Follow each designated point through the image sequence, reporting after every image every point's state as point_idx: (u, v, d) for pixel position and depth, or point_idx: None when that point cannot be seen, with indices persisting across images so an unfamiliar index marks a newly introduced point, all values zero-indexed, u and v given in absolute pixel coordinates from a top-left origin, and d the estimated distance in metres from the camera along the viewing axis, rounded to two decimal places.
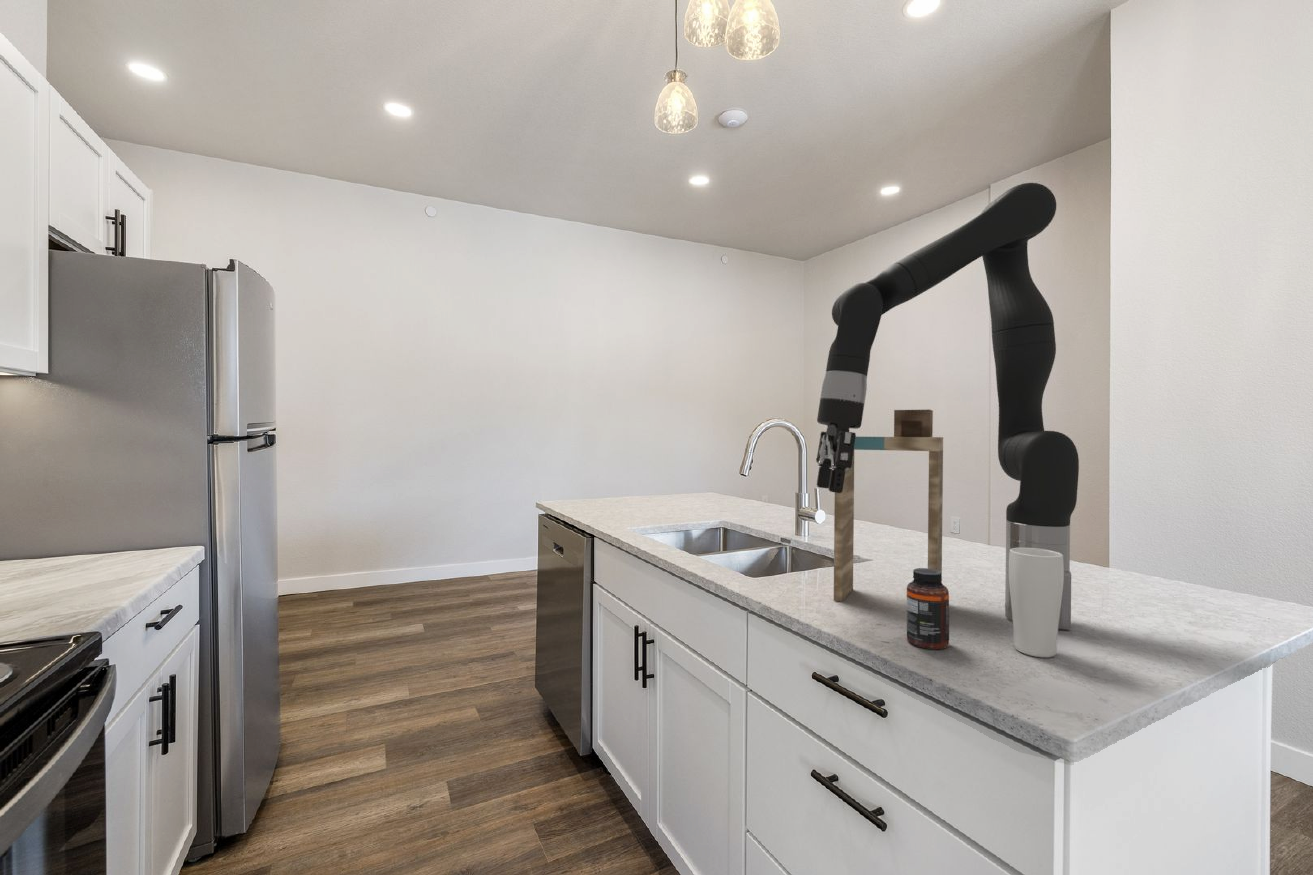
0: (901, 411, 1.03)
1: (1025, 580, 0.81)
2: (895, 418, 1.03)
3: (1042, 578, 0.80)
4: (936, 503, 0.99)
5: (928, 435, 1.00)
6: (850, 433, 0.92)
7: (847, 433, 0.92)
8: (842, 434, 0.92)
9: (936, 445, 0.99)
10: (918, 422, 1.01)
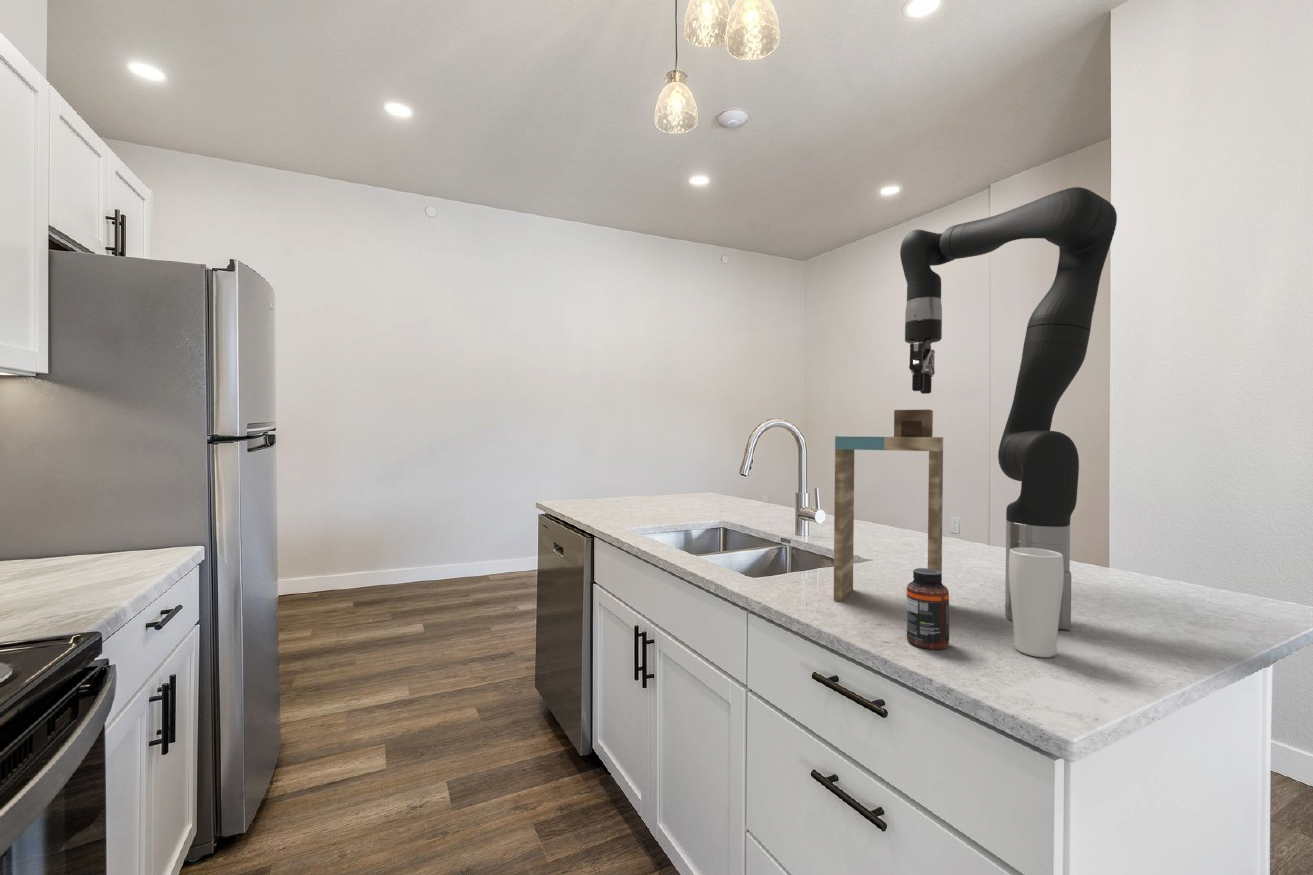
0: (901, 411, 1.03)
1: (1025, 580, 0.81)
2: (895, 418, 1.03)
3: (1042, 578, 0.80)
4: (936, 503, 0.99)
5: (928, 435, 1.00)
6: None
7: None
8: None
9: (936, 445, 0.99)
10: (918, 422, 1.01)
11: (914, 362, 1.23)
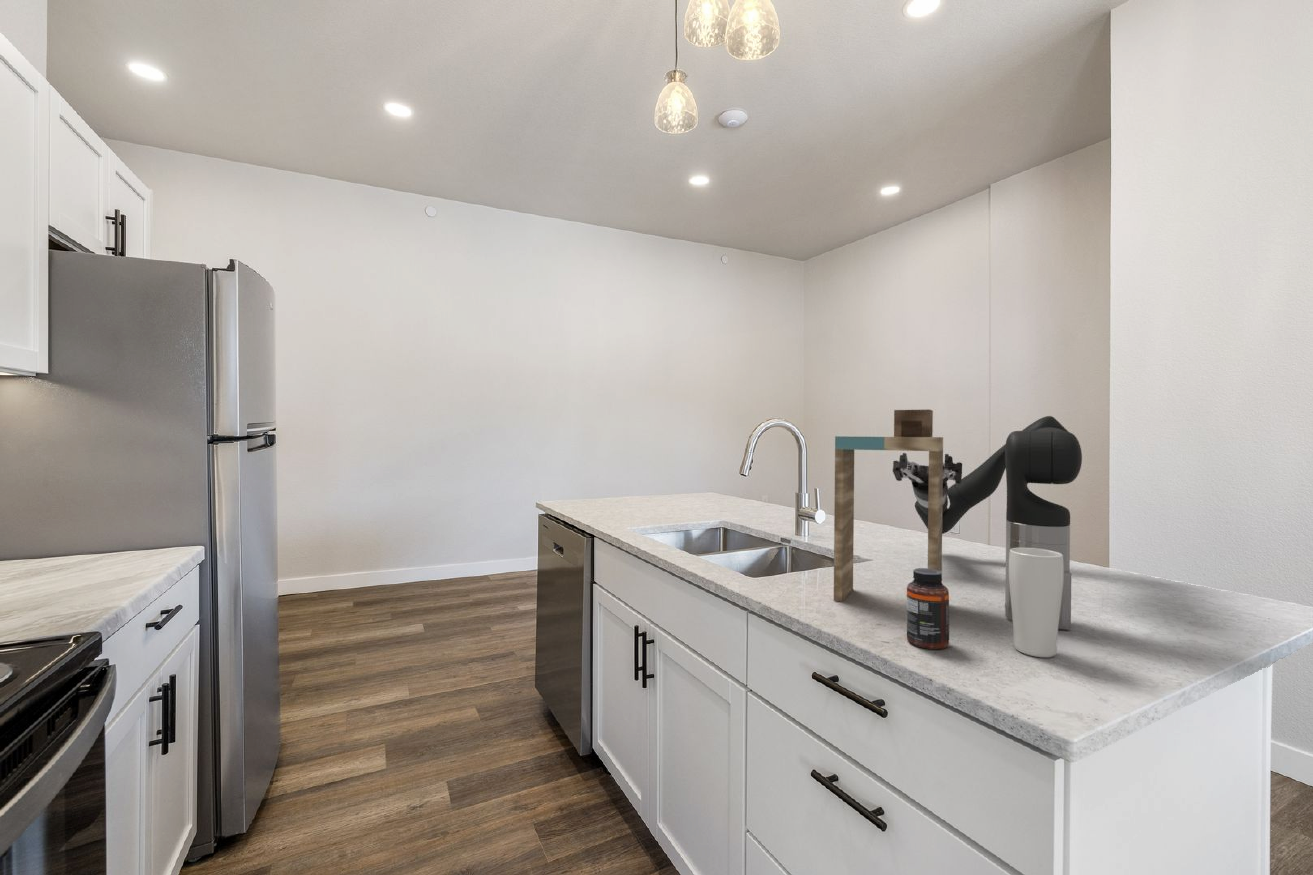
0: (901, 411, 1.03)
1: (1025, 580, 0.81)
2: (895, 418, 1.03)
3: (1042, 578, 0.80)
4: (936, 503, 0.99)
5: (928, 435, 1.00)
6: None
7: None
8: None
9: (936, 445, 0.99)
10: (918, 422, 1.01)
11: None
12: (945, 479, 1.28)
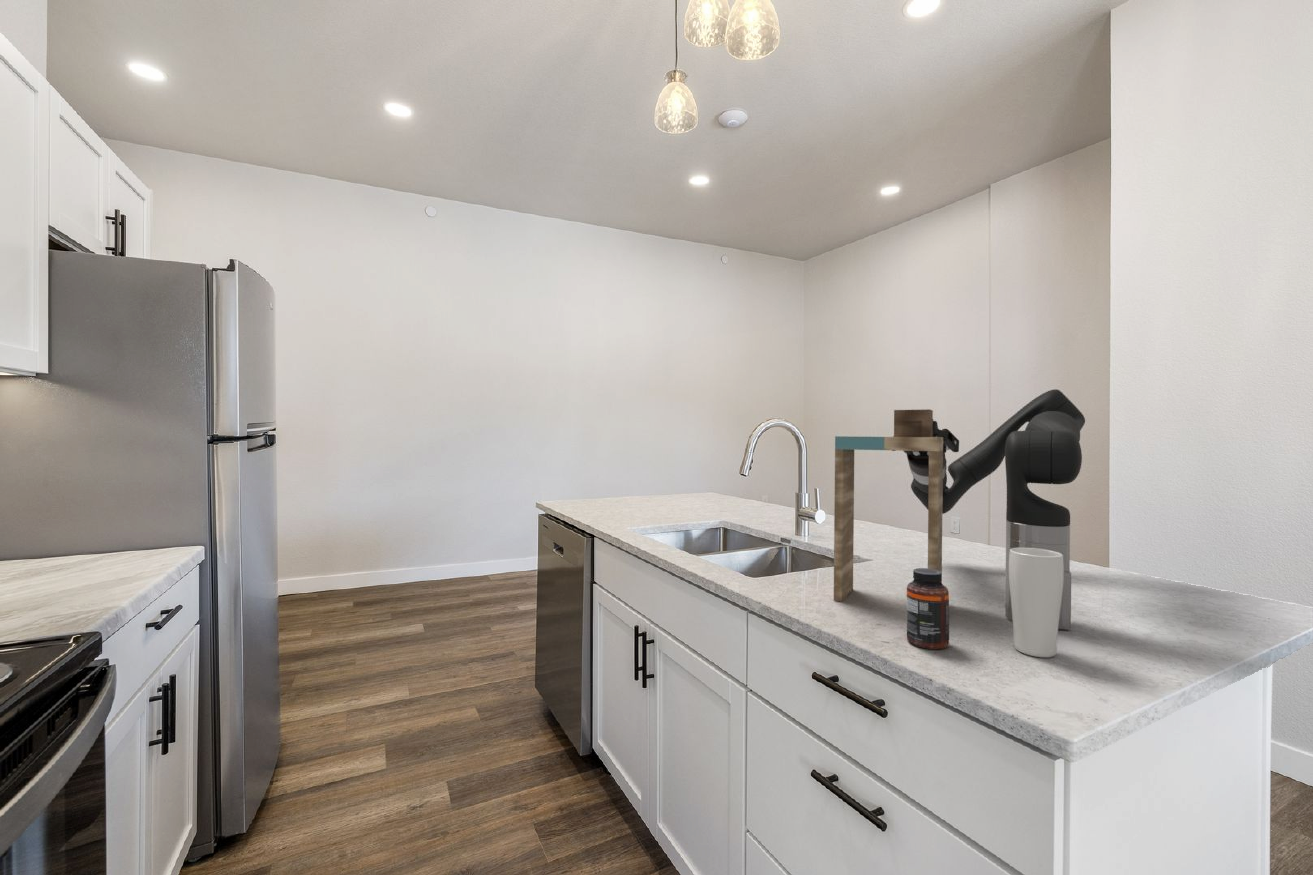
0: (901, 411, 1.03)
1: (1025, 580, 0.81)
2: (895, 418, 1.03)
3: (1042, 578, 0.80)
4: (936, 503, 0.99)
5: (928, 435, 1.00)
6: (958, 447, 1.16)
7: (958, 445, 1.16)
8: (958, 441, 1.16)
9: (936, 445, 0.99)
10: (918, 422, 1.01)
11: None
12: None
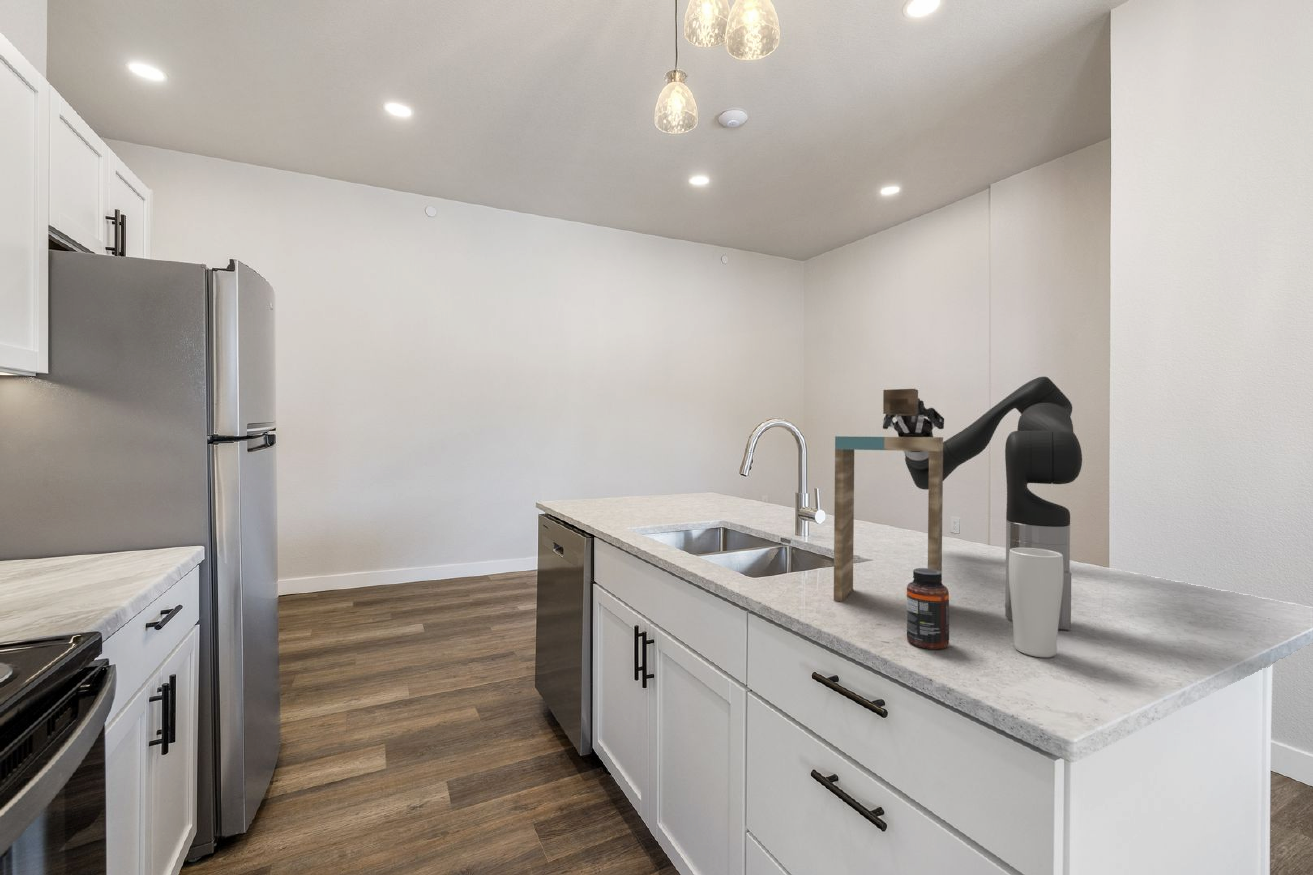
0: (889, 390, 1.16)
1: (1025, 580, 0.81)
2: (884, 397, 1.16)
3: (1042, 578, 0.80)
4: (936, 503, 0.99)
5: (913, 411, 1.13)
6: (943, 425, 1.28)
7: (943, 423, 1.28)
8: (943, 419, 1.28)
9: (936, 445, 0.99)
10: (904, 400, 1.14)
11: None
12: (928, 427, 1.30)
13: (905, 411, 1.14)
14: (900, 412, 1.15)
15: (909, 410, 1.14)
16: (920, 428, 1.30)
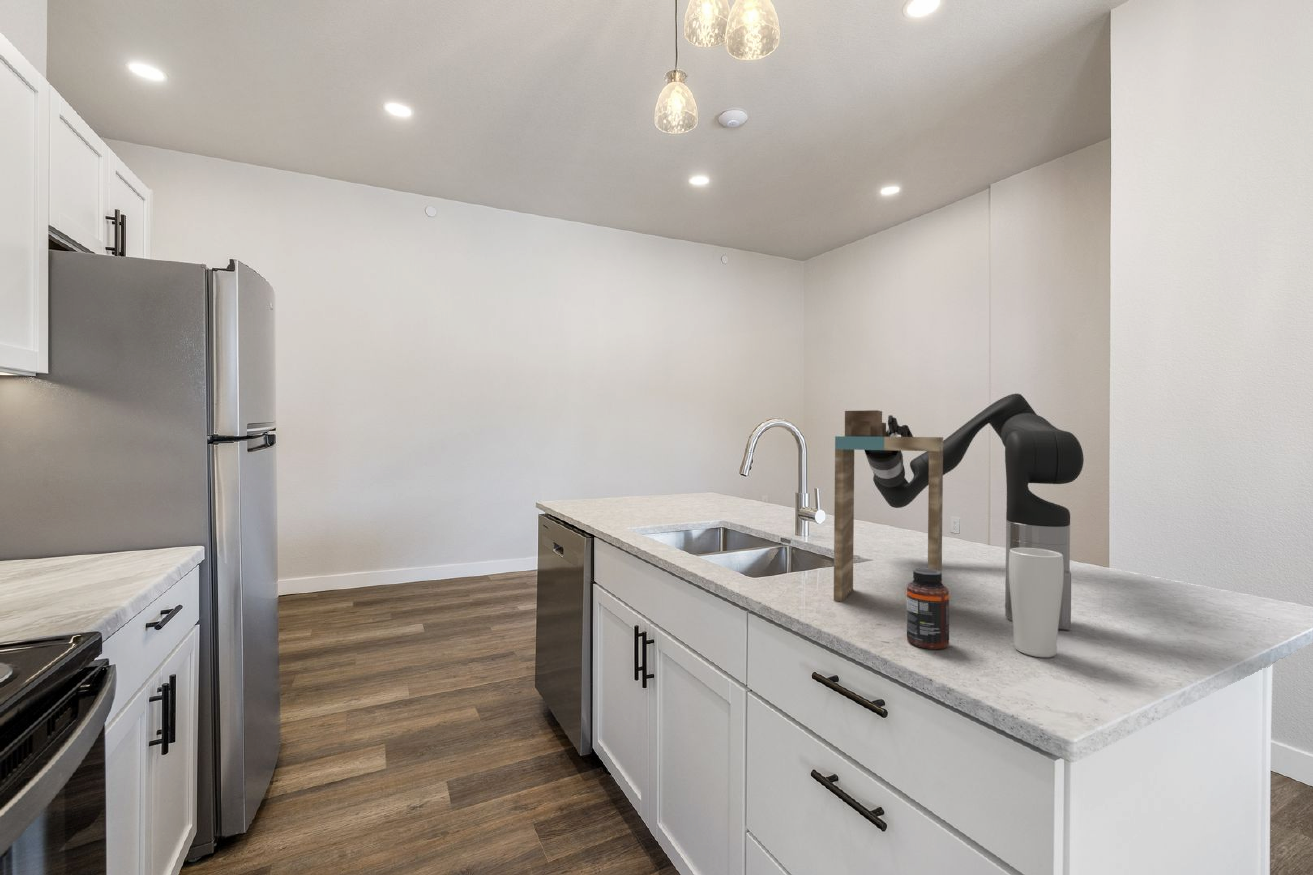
0: (851, 412, 1.08)
1: (1025, 580, 0.81)
2: (846, 418, 1.08)
3: (1042, 578, 0.80)
4: (936, 503, 0.99)
5: (876, 435, 1.05)
6: None
7: None
8: None
9: (936, 445, 0.99)
10: (866, 422, 1.06)
11: None
12: None
13: (867, 434, 1.06)
14: (862, 435, 1.07)
15: (872, 433, 1.06)
16: None
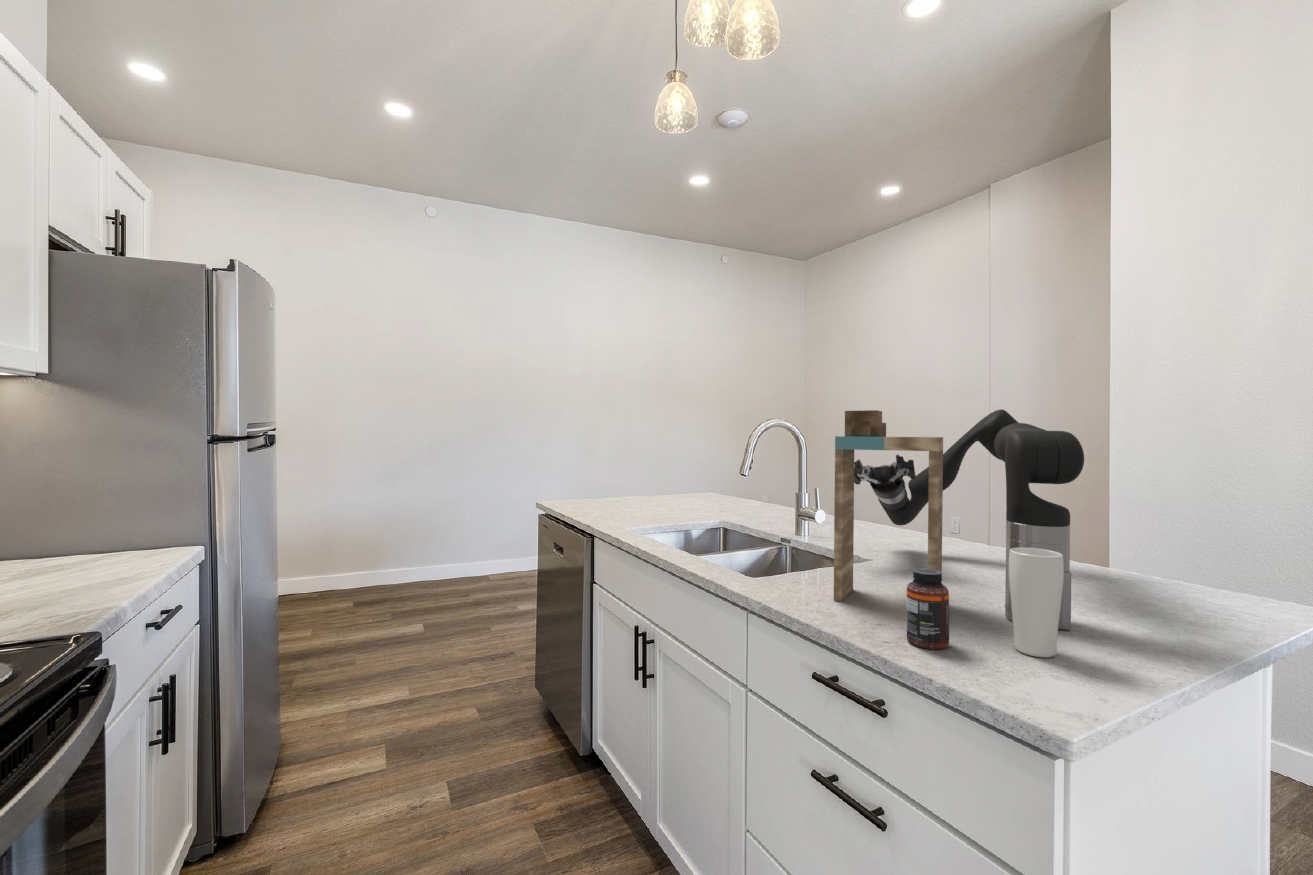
0: (851, 412, 1.08)
1: (1025, 580, 0.81)
2: (846, 418, 1.08)
3: (1042, 578, 0.80)
4: (936, 503, 0.99)
5: (876, 435, 1.05)
6: None
7: None
8: None
9: (936, 445, 0.99)
10: (866, 422, 1.06)
11: None
12: (900, 477, 1.32)
13: (867, 434, 1.06)
14: (862, 435, 1.07)
15: (872, 433, 1.06)
16: (894, 479, 1.31)
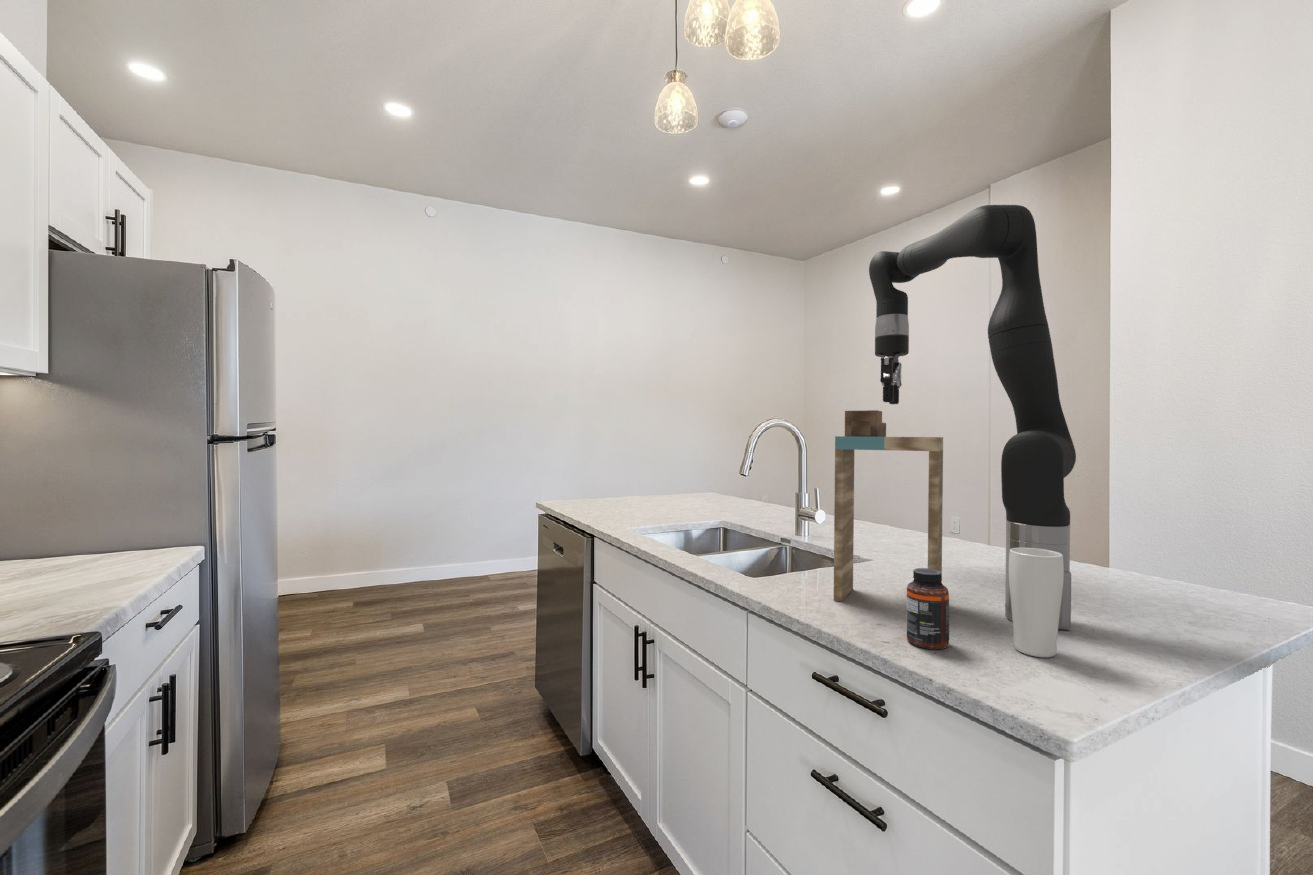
0: (851, 412, 1.08)
1: (1025, 580, 0.81)
2: (846, 418, 1.08)
3: (1042, 578, 0.80)
4: (936, 503, 0.99)
5: (876, 435, 1.05)
6: (888, 357, 1.28)
7: (886, 357, 1.28)
8: (882, 359, 1.28)
9: (936, 445, 0.99)
10: (866, 422, 1.06)
11: None
12: (893, 363, 1.30)
13: (867, 434, 1.06)
14: (862, 435, 1.07)
15: (872, 433, 1.06)
16: (897, 368, 1.31)
